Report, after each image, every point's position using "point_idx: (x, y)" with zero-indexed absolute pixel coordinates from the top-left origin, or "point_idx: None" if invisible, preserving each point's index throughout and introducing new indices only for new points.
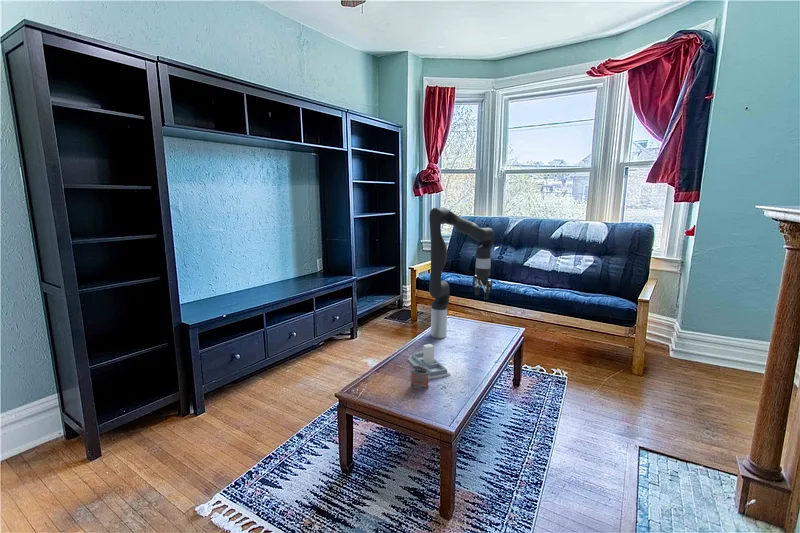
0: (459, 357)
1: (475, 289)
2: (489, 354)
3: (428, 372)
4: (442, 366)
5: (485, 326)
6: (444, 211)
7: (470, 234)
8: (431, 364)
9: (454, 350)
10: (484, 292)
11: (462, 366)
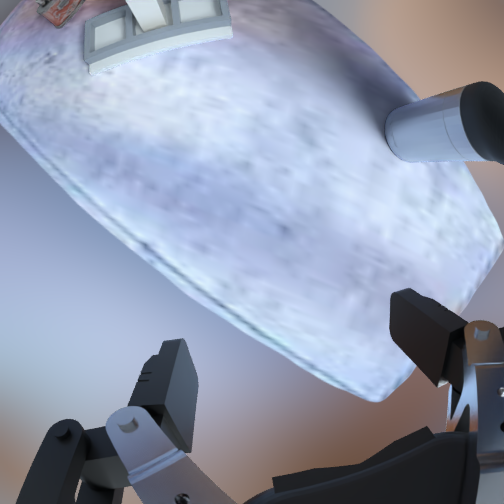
0: (205, 129)
1: (448, 320)
2: (211, 250)
3: (39, 12)
4: (105, 48)
5: None
6: None
7: None
8: (127, 21)
9: (272, 132)
10: (158, 401)
11: (134, 121)
